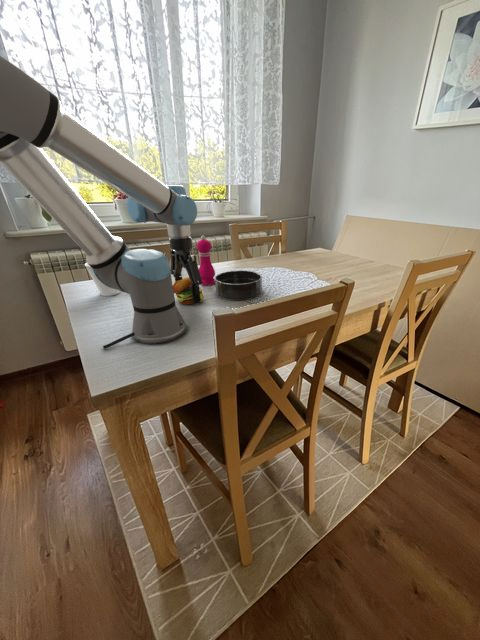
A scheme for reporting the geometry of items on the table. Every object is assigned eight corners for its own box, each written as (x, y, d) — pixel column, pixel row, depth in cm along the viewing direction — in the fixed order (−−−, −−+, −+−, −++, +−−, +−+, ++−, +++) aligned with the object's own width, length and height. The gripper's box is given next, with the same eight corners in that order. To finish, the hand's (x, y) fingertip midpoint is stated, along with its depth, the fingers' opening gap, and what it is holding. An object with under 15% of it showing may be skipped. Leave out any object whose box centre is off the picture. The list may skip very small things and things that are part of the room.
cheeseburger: (199, 306, 106) (189, 280, 101) (174, 311, 109) (163, 285, 104) (209, 296, 114) (200, 271, 110) (185, 300, 117) (175, 276, 113)
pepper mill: (208, 287, 125) (203, 237, 115) (196, 284, 128) (190, 236, 118) (219, 282, 130) (215, 235, 120) (207, 280, 133) (202, 233, 123)
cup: (87, 296, 116) (76, 265, 109) (108, 287, 125) (100, 257, 119) (111, 299, 113) (102, 267, 106) (132, 289, 122) (124, 259, 116)
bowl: (235, 304, 107) (234, 287, 104) (207, 292, 119) (205, 276, 116) (271, 293, 118) (271, 277, 115) (242, 282, 130) (241, 268, 127)
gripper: (208, 240, 94) (214, 303, 106) (173, 231, 109) (181, 287, 120) (188, 243, 90) (196, 309, 101) (154, 233, 105) (165, 292, 116)
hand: (188, 297), depth 111 cm, fingers closed on cheeseburger, 11 cm apart
